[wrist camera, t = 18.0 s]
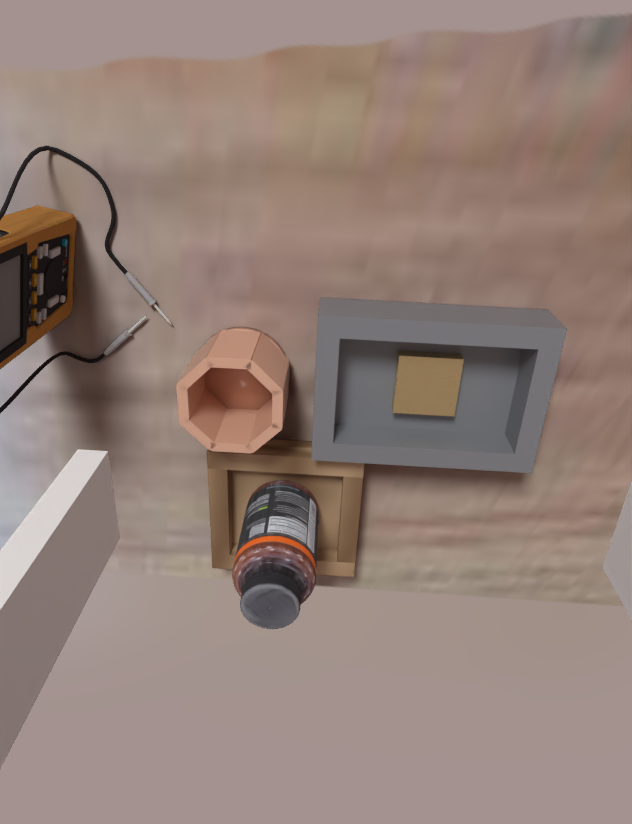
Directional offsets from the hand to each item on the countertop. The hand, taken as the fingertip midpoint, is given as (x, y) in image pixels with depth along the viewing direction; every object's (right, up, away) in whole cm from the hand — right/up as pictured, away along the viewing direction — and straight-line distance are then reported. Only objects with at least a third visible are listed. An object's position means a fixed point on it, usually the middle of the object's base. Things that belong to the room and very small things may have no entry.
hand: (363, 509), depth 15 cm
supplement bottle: (-4, -5, +34) cm, 35 cm away
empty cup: (-7, +6, +30) cm, 31 cm away
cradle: (+7, +5, +29) cm, 31 cm away
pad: (+7, +5, +28) cm, 29 cm away
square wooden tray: (-4, -5, +35) cm, 35 cm away
